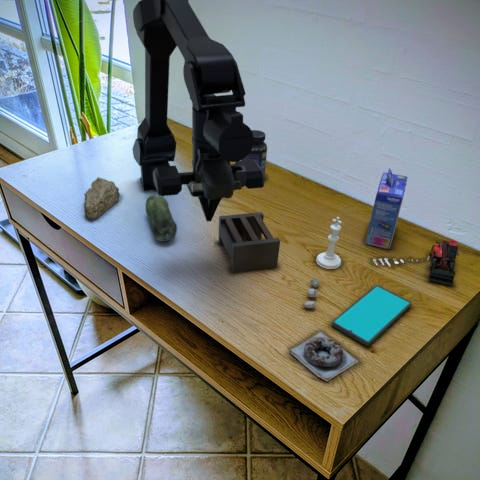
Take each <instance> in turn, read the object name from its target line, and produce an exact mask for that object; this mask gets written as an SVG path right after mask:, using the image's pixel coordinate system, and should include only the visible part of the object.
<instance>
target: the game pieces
mask: <svg viewBox="0 0 480 480" xmlns="http://www.w3.org/2000/svg"><path fill="white" fill-rule="evenodd" d="M309 283H310V284H311V285H312V288H308V290H307V296H308V297H309V298H315V297H318V289H317V288H318V287H319V284H320V280H319V279H318V278H317V277H314V276H313V278H312V279H310V281H309ZM315 288H316V289H315ZM303 306H304V308H305V309H316V303H315V300H308V301H306V302H304V304H303Z"/></svg>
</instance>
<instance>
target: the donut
mask: <svg viewBox="0 0 480 480" xmlns="http://www.w3.org/2000/svg"><path fill="white" fill-rule="evenodd" d="M341 343H342V342H340V341H337V340H333V339H332V338H330V337H328V336H327V335H326V334H325V333H324V332H322V331H319V332H317V333H316V334H314V335H313V336H311V337H309V338H308V339H306V340H305V341H302V342H301V343H299V344H297V345H296V346H295V347H293V348H290V350H289V351H290V354H291V355H292V356H293V357H294V358H295V359H297V361H299V362H300V363H301V364H302V365H303V366H304V367H306V368H307V369H308V370H310V371H311V372H312V373H313V374H314V375H315V376H316V377H318V378H319V379H321V380H324V381H326V382H329V381H331V380H332V379H333V378H335V377H336V376H338V375H340V374H341V373H343V372H345V371H346V370H348V369H349V368H351V367H353V366H354V365H355V364H358V363H359V361H360V360H357V358H355V357H354V356H352V355H351V354H350V353H349V352H348V351H346V350H345V349H343V347H342V346H341Z"/></svg>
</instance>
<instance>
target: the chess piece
mask: <svg viewBox="0 0 480 480" xmlns="http://www.w3.org/2000/svg"><path fill="white" fill-rule="evenodd" d="M331 222H332V223H333V224H331V225H330V234H329V235H328V236H327V239H328V240H329V244H328V246H327V250H326V251H325V252H320V253H319V254H317V256H316V258H315V260H316V264H317V265H318V266H319V267H321V268H324V269H327V270H334V269H338V268H339V267H341V265H342V259H341V257H340V256H339V255H338V254H336V253H335V251H336V242H339V240H340V237H339V235H338V234H339V233H340V231H341V230H342V226H341V225H342V223H343V221H341V220H340V217H339V216H336V217H335V218H333V219H332V221H331Z"/></svg>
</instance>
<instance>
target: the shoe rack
mask: <svg viewBox="0 0 480 480" xmlns="http://www.w3.org/2000/svg"><path fill="white" fill-rule="evenodd" d="M264 217H265V214H264V213H263V212H262V211H259V212H248V213H239V214H228V215H219V216H218V237H217V238H218V240H217V241H218V242H217V243H218V244H219V246H222V245H223V246H224V248H225V251H226V253H227V254H228V257H229V258H230V260H231V264H230V265H231V266H230V270H231V272H232V274H234V273H241V272H248V271H256V270H265V269H272V268H278V263H279V256H280V255H279V254H280V247H281V240H280V238H279V237H274V236H273V234H272V233H271V232H270V230H269V228H268V227H267V225H266V223H265V222H264ZM262 236H263V237H264V238H263V237H262ZM262 238H263V239H262Z"/></svg>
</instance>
